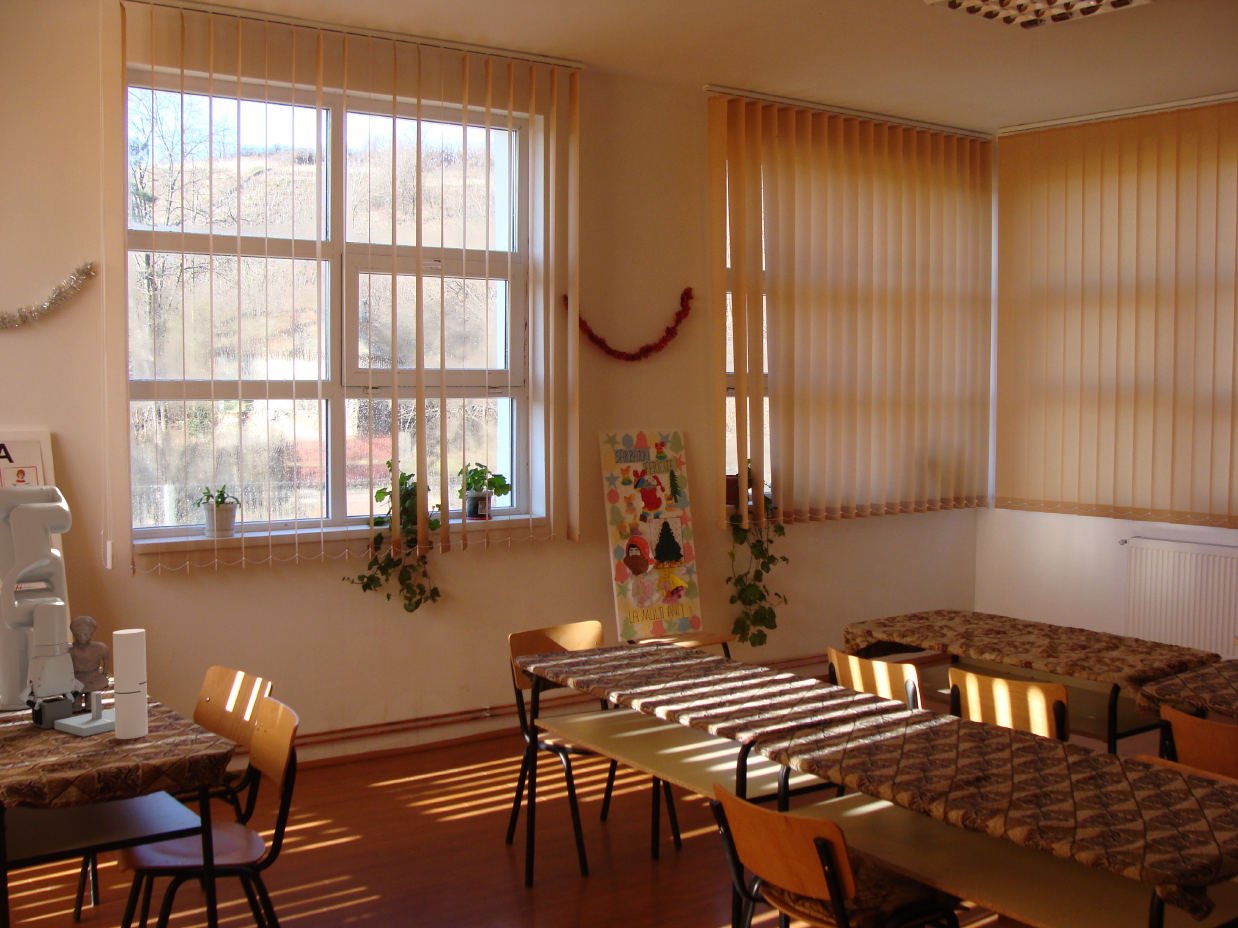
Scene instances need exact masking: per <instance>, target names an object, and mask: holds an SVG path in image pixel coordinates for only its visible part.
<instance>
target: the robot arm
mask: <svg viewBox="0 0 1238 928" xmlns="http://www.w3.org/2000/svg"><path fill="white" fill-rule="evenodd" d="M72 519H73V517H72V513H71V509H70V506H69V504H68V502H67V500H66V499H65V496H63V494H62V492H61V490H59V488H58V487H56V486H55V485H50V484H49V485H47V484H46V485H44V484H43V485H41V484H40V485H10V486H9V485H8V486H1V487H0V581H1V583H2V585H1V588H0V711H15V710H16V711H17V710H19V711H20V710H24V709H25V710H26V709H31V721H32V723H33V722H34V724H36V725H42V710H41V709H40V705H41V703H42V701H43V699H48V698H52V697H57V696H59V695H60V696H61V697H63V698H67V699H72V703H73V702H74V699H75V698H76V697H77V696H78V694H79V692H80V691H81V690H82V689H83V687H84V684H83V683H81V682H80V681H78V680H77V679H76V678H74V669H73V663H72V659H71V655H70V654H69V653H68V649H69V648H72V647H73V645H72V642H69V641H68V616H67V615H68V614H67V613H68V612H67V607H68V606H67V605H68V604H67V586H66V585H67V584H66V574H65V573H66V571H65V563H64V562H65V561H64V557H63V555H62V553H61V552H60V551H59V549H56V548H55V547H54V548H53V547H52V546H51V540H50V539H51V538H50V535H54V534H56V535H57V534H65V533H67V532H69V531H70V529H71V528H72V523H73V522H72V521H73V520H72ZM41 583H42V584H44V585H45V586H44V587H35V588H31V587H30V588H23V589H15V588H16V587H15V586H16V585H27V584H28V585H29V584H30V585H31V584H41ZM32 629H33V630H32ZM72 714H73V710H72Z"/></svg>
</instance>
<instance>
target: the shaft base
mask: <svg viewBox="0 0 1238 928" xmlns="http://www.w3.org/2000/svg"><path fill="white" fill-rule="evenodd" d="M91 707H92V709H91V713H86V714H81V715H77V716H72V717H70V718H66V719H61V720H56V721H55V727H54V730H57V731H62V732H66V733H68V734H73V735H77V736H80V737H88V736H92V735H97V734H101V733H105V732H110V731H115V709H110V708H109V709H104V710H103V702H102V691H101V690H99V691H96V692H92V693H91Z"/></svg>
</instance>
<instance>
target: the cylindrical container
mask: <svg viewBox="0 0 1238 928" xmlns="http://www.w3.org/2000/svg"><path fill="white" fill-rule="evenodd" d="M146 645H147V644H146V629H144V628H130V629H122V630H121V629H120V630H116V631H113V632H112V659H113V661H112V662H113V663H112V665H113V696H114V710H115V730H114V732H115V733H114V735H115V739H119V740H131V739H138V738H141V737H145V736H147V735H149V725H148V723H149V722H148V721H149V720H148V687H147V685H148V684H147V650H146V649H147V648H146V647H147V646H146Z"/></svg>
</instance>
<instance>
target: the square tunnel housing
mask: <svg viewBox="0 0 1238 928" xmlns="http://www.w3.org/2000/svg"><path fill="white" fill-rule="evenodd" d="M40 709H41V710H42V725H36V724H34V722H33V721H32V726H34V727H38V728H41V729H43V730H44V729H45V730H47V729H52V728H55V721H56V720H61V719H66V718H70V717H73V713H72V699H67V698H63V697H62V696H53V697H47V699H43V701H42V703H41V705H40Z"/></svg>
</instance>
